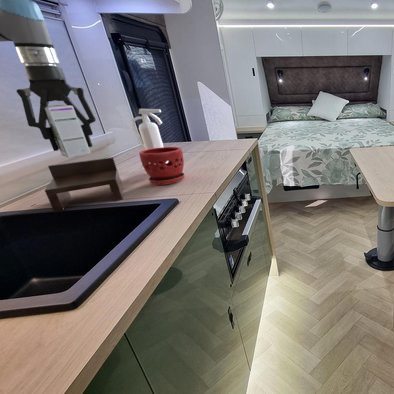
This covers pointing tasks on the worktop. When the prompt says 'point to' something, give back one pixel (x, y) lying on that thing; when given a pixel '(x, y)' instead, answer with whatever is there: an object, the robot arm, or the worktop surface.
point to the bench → (82, 180)
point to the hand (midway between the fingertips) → (73, 148)
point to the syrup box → (67, 130)
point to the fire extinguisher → (148, 130)
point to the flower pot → (163, 164)
